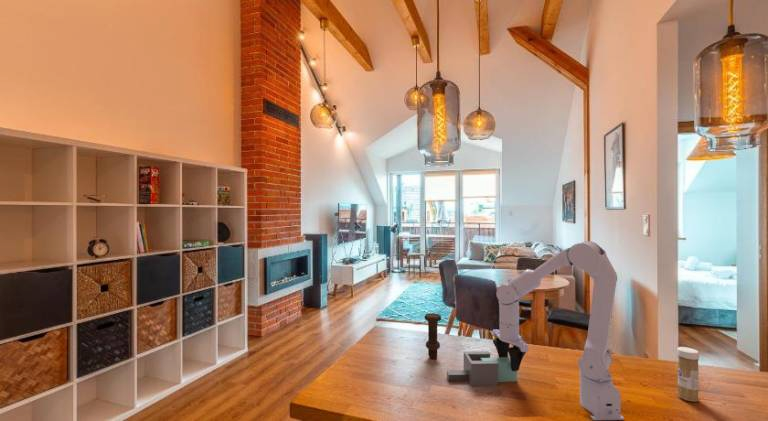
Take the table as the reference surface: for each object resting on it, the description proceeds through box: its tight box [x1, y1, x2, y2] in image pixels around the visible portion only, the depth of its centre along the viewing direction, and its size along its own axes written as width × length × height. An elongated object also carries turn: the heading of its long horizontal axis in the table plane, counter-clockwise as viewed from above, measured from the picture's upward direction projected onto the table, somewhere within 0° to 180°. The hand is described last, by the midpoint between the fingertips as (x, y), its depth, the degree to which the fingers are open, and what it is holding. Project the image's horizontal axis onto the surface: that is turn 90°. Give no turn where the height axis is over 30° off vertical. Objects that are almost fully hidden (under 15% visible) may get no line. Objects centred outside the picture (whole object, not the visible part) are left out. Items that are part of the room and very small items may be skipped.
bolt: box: [424, 312, 442, 360], centre depth 124 cm, size 6×5×15 cm
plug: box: [480, 356, 518, 383], centre depth 109 cm, size 4×10×6 cm, turn 94°
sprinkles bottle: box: [676, 346, 700, 403], centre depth 97 cm, size 5×5×14 cm
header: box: [446, 350, 499, 387], centre depth 109 cm, size 9×14×7 cm, turn 92°
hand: (509, 366), depth 109 cm, fingers open, 5 cm apart
